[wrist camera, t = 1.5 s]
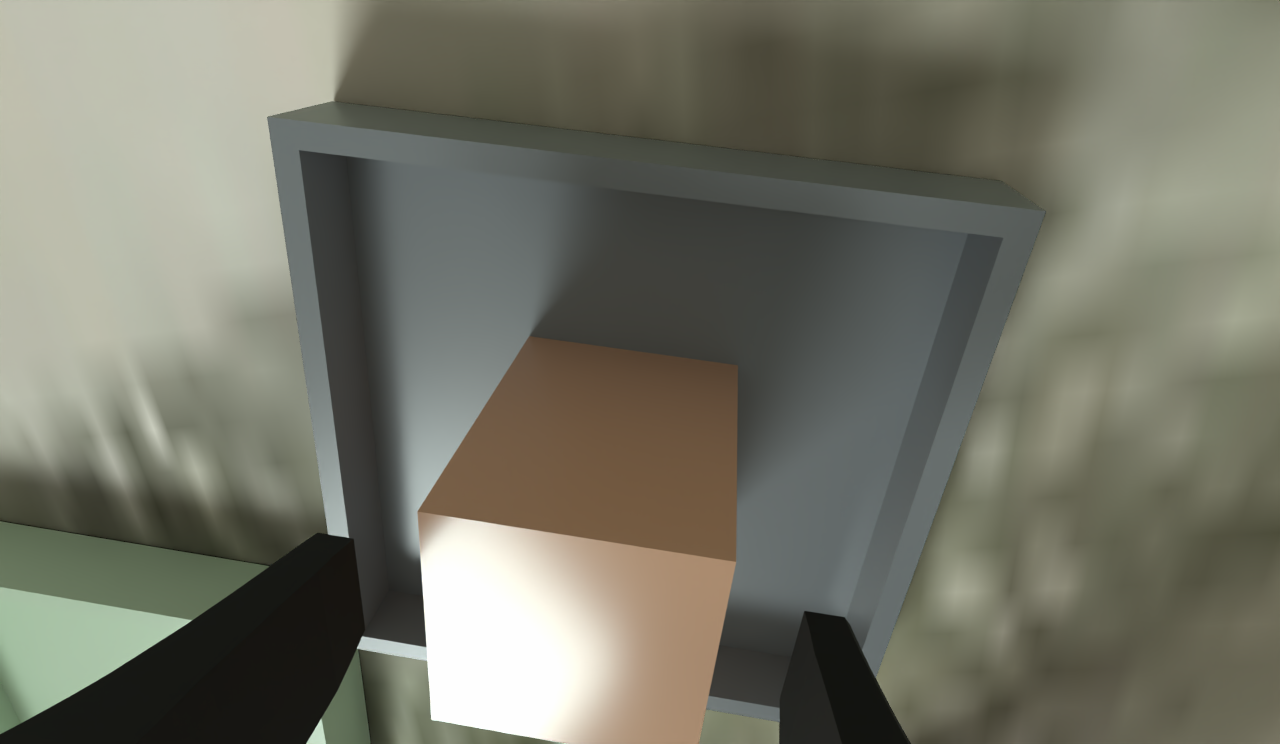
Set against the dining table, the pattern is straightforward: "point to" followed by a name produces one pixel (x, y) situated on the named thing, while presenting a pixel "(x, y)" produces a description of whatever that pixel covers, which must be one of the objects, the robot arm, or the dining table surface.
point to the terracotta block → (584, 548)
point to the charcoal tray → (648, 338)
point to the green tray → (114, 618)
